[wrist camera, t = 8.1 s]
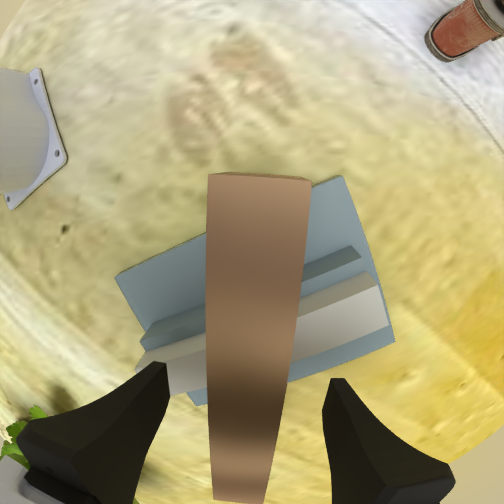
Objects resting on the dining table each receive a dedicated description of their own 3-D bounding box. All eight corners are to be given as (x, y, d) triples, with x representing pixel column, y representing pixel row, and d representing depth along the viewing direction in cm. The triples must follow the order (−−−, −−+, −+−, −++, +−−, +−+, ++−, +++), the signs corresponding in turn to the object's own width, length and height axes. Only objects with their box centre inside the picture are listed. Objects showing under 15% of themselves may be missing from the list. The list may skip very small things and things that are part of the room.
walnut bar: (265, 458, 17) (262, 504, 13) (222, 454, 18) (213, 499, 14) (300, 176, 12) (312, 181, 9) (228, 172, 13) (208, 174, 9)
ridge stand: (198, 398, 23) (183, 446, 18) (120, 272, 20) (78, 304, 15) (391, 334, 20) (417, 380, 15) (339, 175, 17) (365, 179, 12)
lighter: (446, 72, 15) (540, 32, 5) (414, 34, 14) (492, -30, 5) (492, 32, 13) (568, -2, 3) (465, -1, 12) (532, -48, 3)
